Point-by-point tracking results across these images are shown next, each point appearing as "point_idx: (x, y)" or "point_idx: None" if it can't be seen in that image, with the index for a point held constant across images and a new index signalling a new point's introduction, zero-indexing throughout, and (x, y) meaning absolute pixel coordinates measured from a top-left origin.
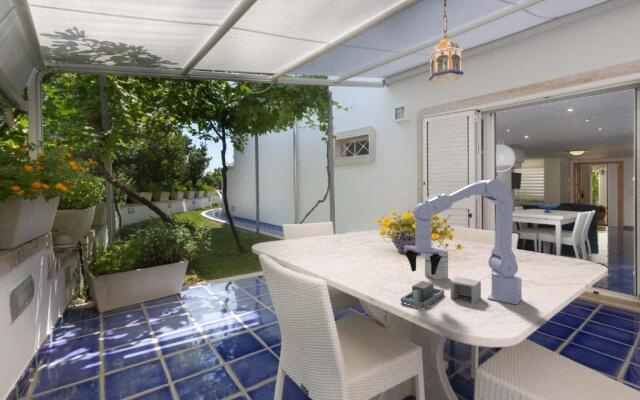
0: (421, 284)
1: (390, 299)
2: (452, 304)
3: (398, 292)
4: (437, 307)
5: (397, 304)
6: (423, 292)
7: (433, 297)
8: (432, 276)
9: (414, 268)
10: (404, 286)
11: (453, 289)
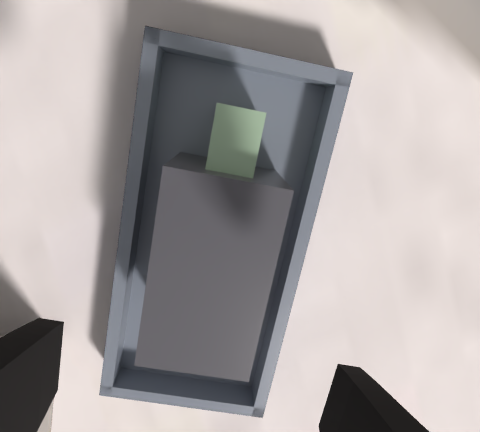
0: (223, 282)
1: (429, 126)
2: (9, 232)
3: (403, 292)
4: (78, 124)
5: (357, 43)
6: (175, 161)
7: (121, 217)
8: None
9: (341, 419)
10: None
11: None
